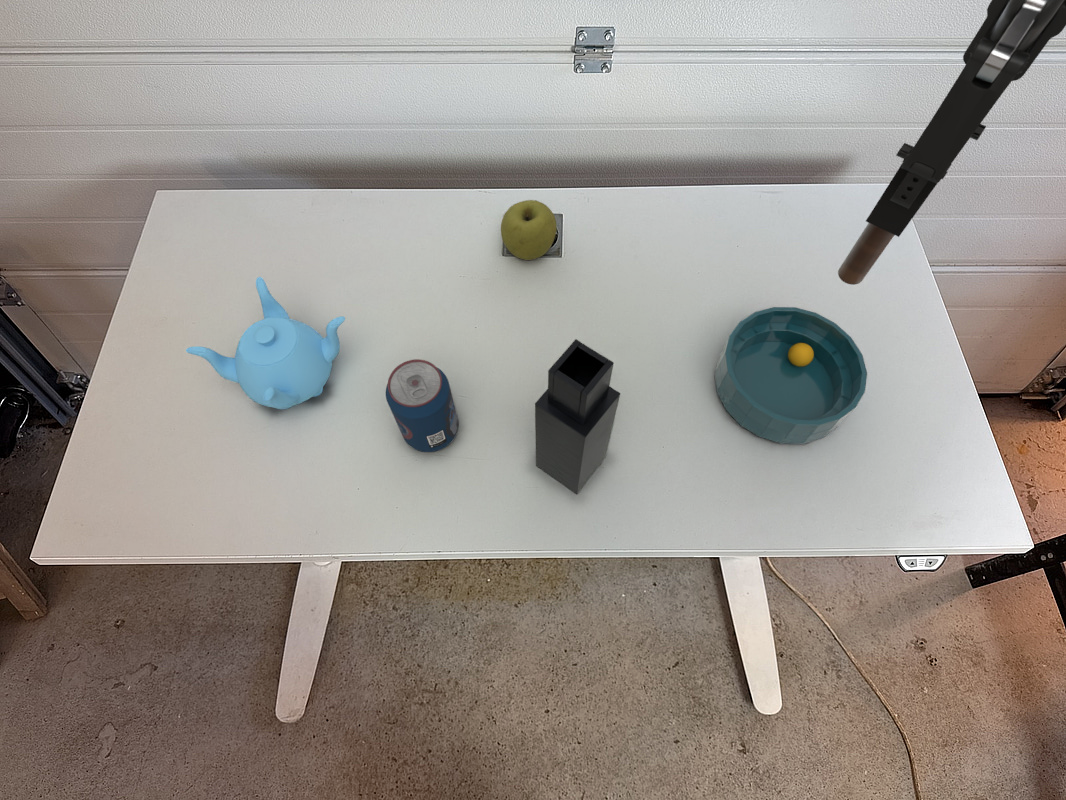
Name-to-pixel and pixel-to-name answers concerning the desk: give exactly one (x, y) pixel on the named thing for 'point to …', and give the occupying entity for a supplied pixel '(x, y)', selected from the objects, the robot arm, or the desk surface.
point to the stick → (864, 254)
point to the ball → (800, 354)
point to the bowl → (789, 375)
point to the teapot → (278, 356)
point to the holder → (575, 416)
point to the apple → (528, 229)
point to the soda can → (422, 405)
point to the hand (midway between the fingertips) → (891, 214)
